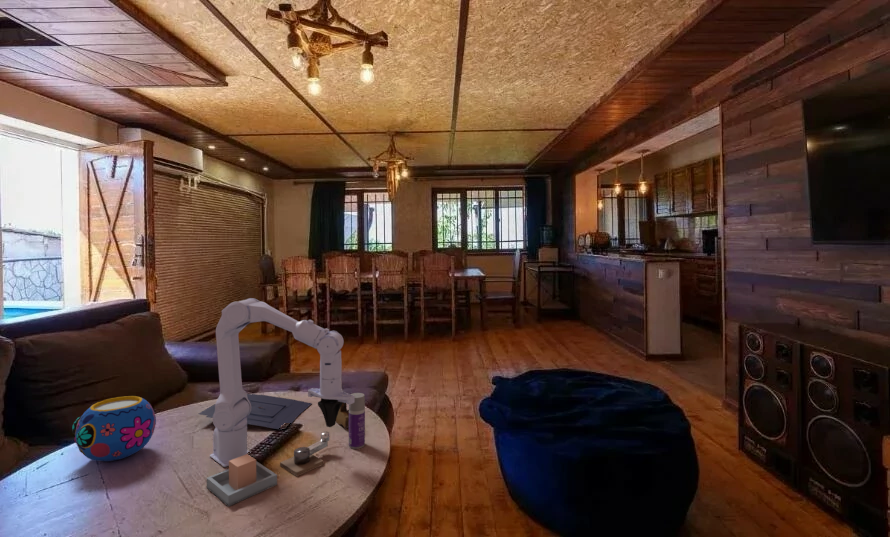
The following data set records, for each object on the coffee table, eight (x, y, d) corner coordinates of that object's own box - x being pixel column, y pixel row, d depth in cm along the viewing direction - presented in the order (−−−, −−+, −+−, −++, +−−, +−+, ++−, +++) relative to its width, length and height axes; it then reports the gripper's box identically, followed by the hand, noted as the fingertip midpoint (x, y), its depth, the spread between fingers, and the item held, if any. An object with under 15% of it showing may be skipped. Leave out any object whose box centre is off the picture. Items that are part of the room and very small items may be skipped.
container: (361, 449, 122) (361, 398, 121) (345, 447, 123) (346, 397, 122) (367, 442, 126) (367, 393, 126) (352, 440, 127) (352, 392, 127)
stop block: (228, 485, 102) (228, 460, 101) (247, 477, 105) (247, 454, 105) (237, 491, 99) (237, 466, 99) (256, 483, 102) (256, 459, 102)
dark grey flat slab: (234, 398, 159) (235, 388, 159) (311, 410, 158) (312, 400, 158) (193, 424, 135) (194, 413, 135) (283, 438, 134) (285, 427, 134)
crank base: (279, 466, 112) (280, 461, 112) (306, 454, 118) (306, 451, 118) (296, 476, 107) (296, 472, 107) (323, 464, 113) (323, 460, 113)
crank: (301, 465, 110) (301, 449, 110) (290, 461, 112) (290, 446, 112) (333, 447, 120) (333, 433, 120) (323, 444, 122) (323, 430, 122)
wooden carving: (358, 429, 136) (358, 398, 135) (345, 433, 133) (345, 402, 132) (335, 414, 148) (335, 386, 148) (323, 417, 145) (323, 388, 145)
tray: (206, 487, 101) (206, 477, 101) (253, 468, 110) (253, 459, 110) (228, 506, 94) (228, 495, 94) (277, 484, 103) (277, 474, 103)
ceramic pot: (70, 456, 116) (69, 402, 115) (148, 436, 129) (147, 388, 128) (79, 480, 104) (78, 421, 103) (163, 455, 117) (163, 402, 116)
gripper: (361, 376, 116) (361, 424, 116) (320, 369, 122) (320, 415, 122) (345, 383, 109) (345, 434, 110) (302, 376, 115) (302, 424, 116)
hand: (330, 425), depth 115 cm, fingers closed
